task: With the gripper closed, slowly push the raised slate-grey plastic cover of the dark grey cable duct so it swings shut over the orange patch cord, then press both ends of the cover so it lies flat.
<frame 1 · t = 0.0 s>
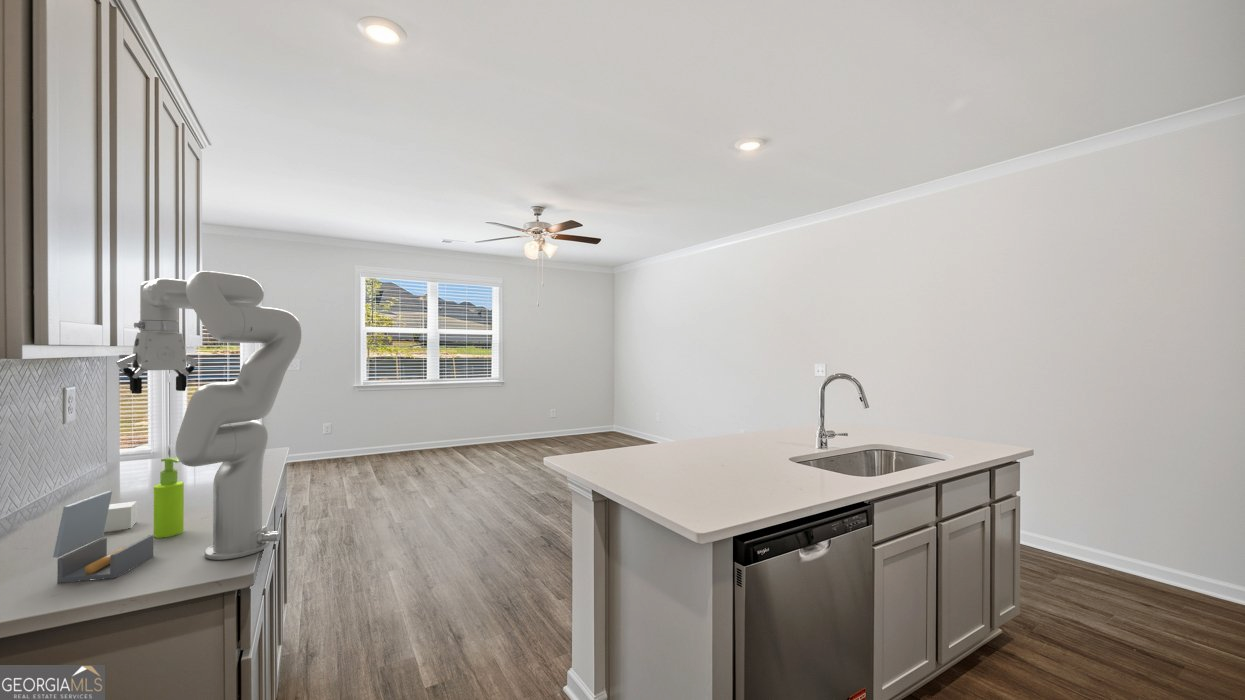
hand: (159, 392, 136), 37 cm above the worktop, tool pointing down, fingers open, 9 cm apart
cable duct: (108, 568, 113), on the worktop
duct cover: (84, 522, 112), point 11 cm above the worktop, hinge at 80.0°
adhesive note: (119, 528, 139), on the worktop
soap dispenser: (170, 534, 134), on the worktop
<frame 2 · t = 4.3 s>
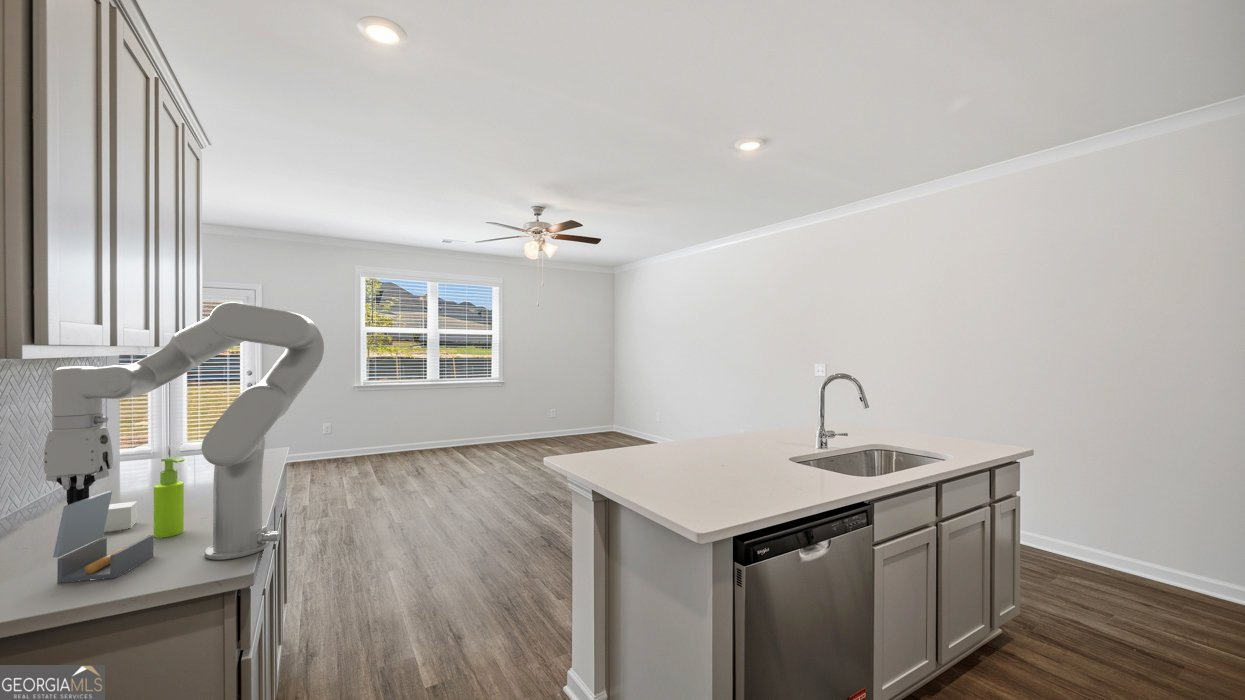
hand: (78, 506, 112), 14 cm above the worktop, tool pointing down, fingers closed
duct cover: (84, 522, 112), point 11 cm above the worktop, hinge at 80.0°, touching gripper
everything else where it was.
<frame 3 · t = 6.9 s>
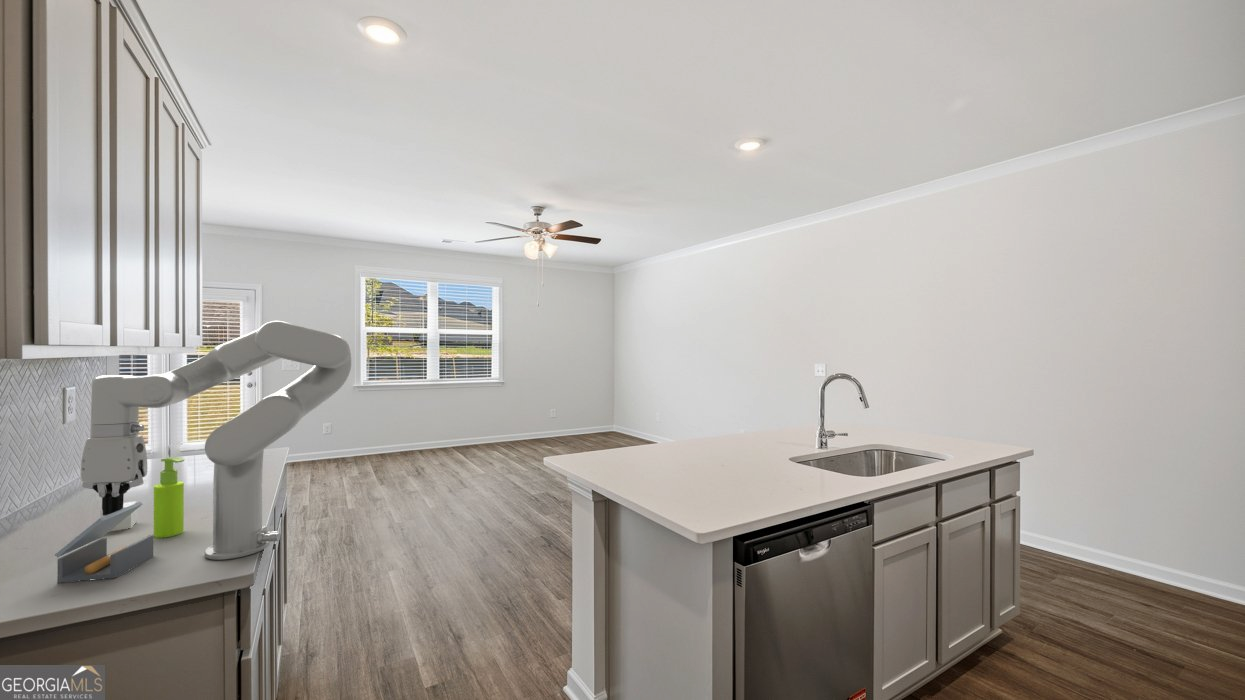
hand: (112, 513, 113), 12 cm above the worktop, tool pointing down, fingers closed
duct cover: (101, 527, 113), point 9 cm above the worktop, hinge at 42.0°, touching gripper
everything else where it was.
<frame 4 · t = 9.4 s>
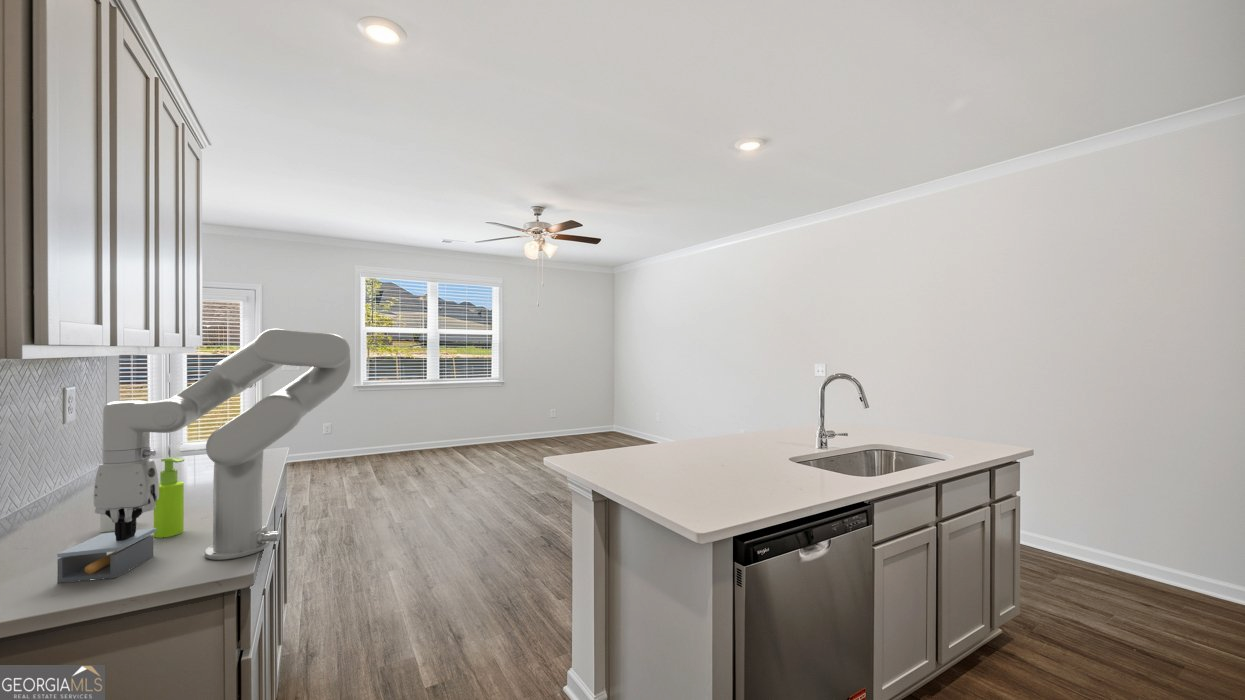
hand: (125, 538, 113), 7 cm above the worktop, tool pointing down, fingers closed
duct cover: (109, 541, 113), point 6 cm above the worktop, hinge at 2.6°, touching gripper
everything else where it was.
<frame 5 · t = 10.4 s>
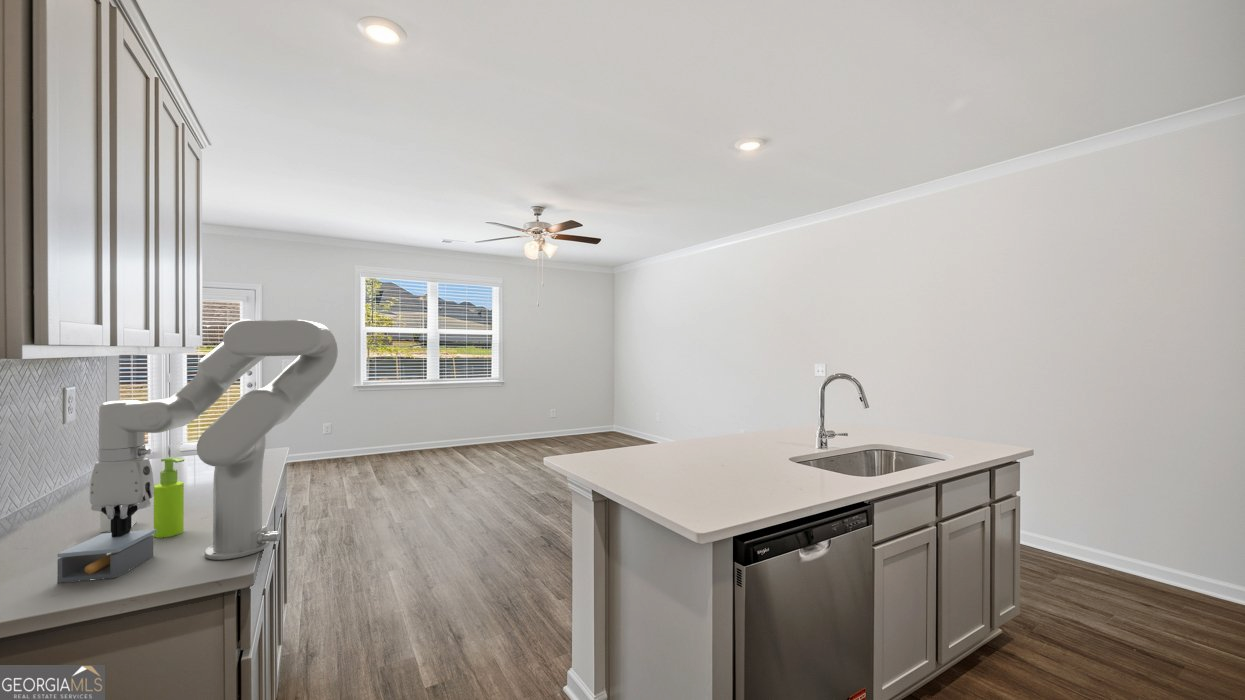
hand: (120, 534, 116), 6 cm above the worktop, tool pointing down, fingers closed
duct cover: (110, 542, 113), point 6 cm above the worktop, hinge at 1.2°, touching gripper
everything else where it was.
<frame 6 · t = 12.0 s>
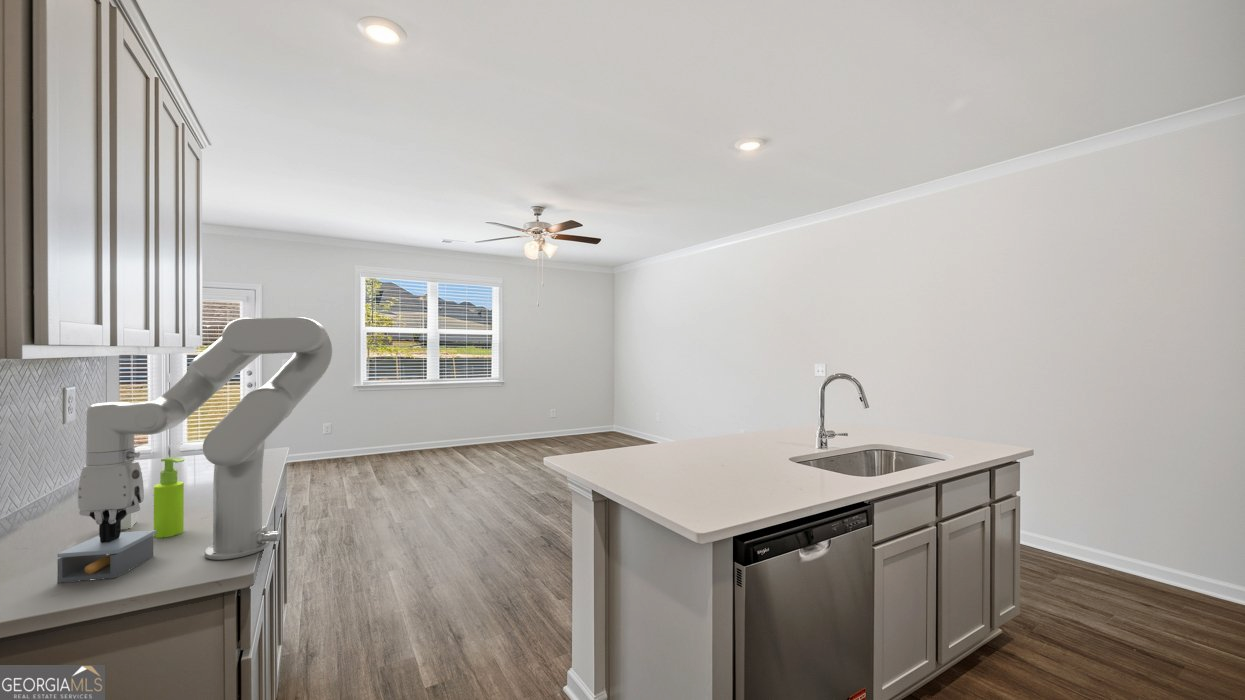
hand: (110, 540, 113), 6 cm above the worktop, tool pointing down, fingers closed
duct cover: (110, 542, 113), point 6 cm above the worktop, hinge at 0.0°
everything else where it was.
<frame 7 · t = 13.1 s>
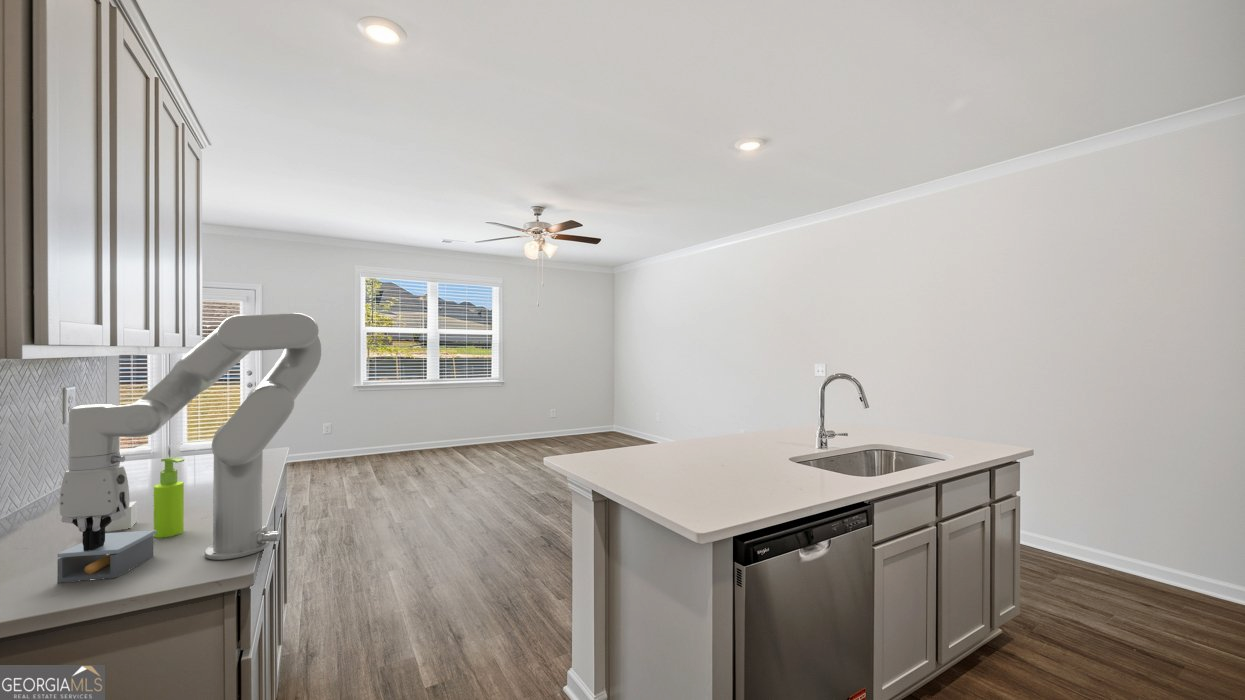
hand: (93, 547, 109), 6 cm above the worktop, tool pointing down, fingers closed
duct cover: (110, 542, 113), point 6 cm above the worktop, hinge at 0.0°, touching gripper
everything else where it was.
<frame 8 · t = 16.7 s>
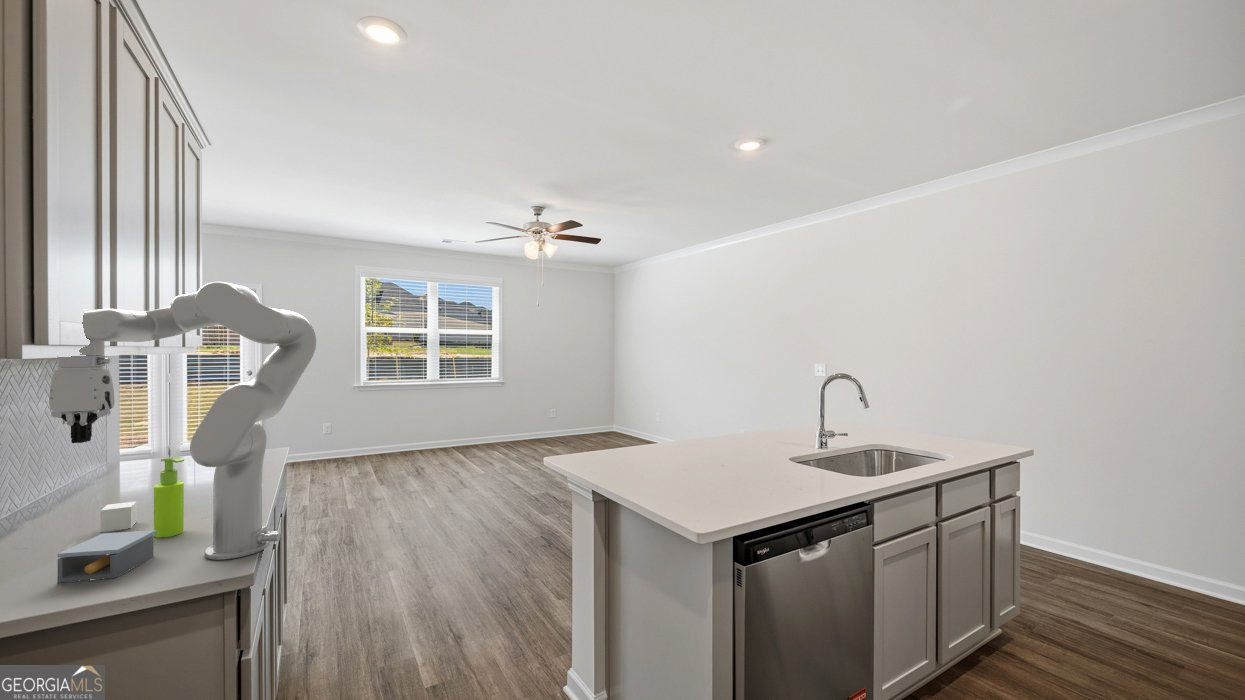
hand: (81, 441, 118), 27 cm above the worktop, tool pointing down, fingers closed
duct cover: (110, 542, 113), point 6 cm above the worktop, hinge at 0.0°
everything else where it was.
at the end: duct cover at +0° (first picture: +80°) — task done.
